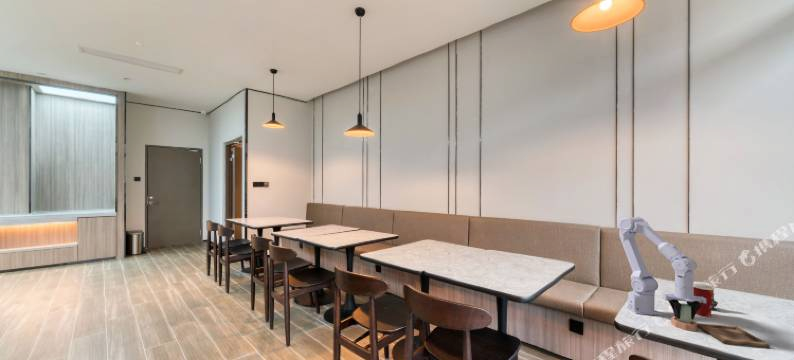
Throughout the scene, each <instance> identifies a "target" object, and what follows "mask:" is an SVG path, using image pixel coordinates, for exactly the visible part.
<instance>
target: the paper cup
mask: <svg viewBox="0 0 794 360" xmlns="http://www.w3.org/2000/svg"><path fill="white" fill-rule="evenodd" d="M713 290H715V288H714V286H713V285H712V284H711V283H708V282H703V281H694V289H693V296H698V297H704V298H706V303H702V302H699V303H700V304H701V308H700V309H699V310H698V311H697V313H696V315H697V316H700V317H705V318H711V317H712V312H713V311H712V300H713Z"/></svg>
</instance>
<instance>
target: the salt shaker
mask: <svg viewBox="0 0 794 360" xmlns="http://www.w3.org/2000/svg"><path fill="white" fill-rule="evenodd" d="M714 290H715V289H714ZM714 290H713V300H712V311H711V312H717V311H718V309H717V308H716V307H717V306H718V304H719V302H718V301H716V300H715V293H714V292H715V291H714Z"/></svg>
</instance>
